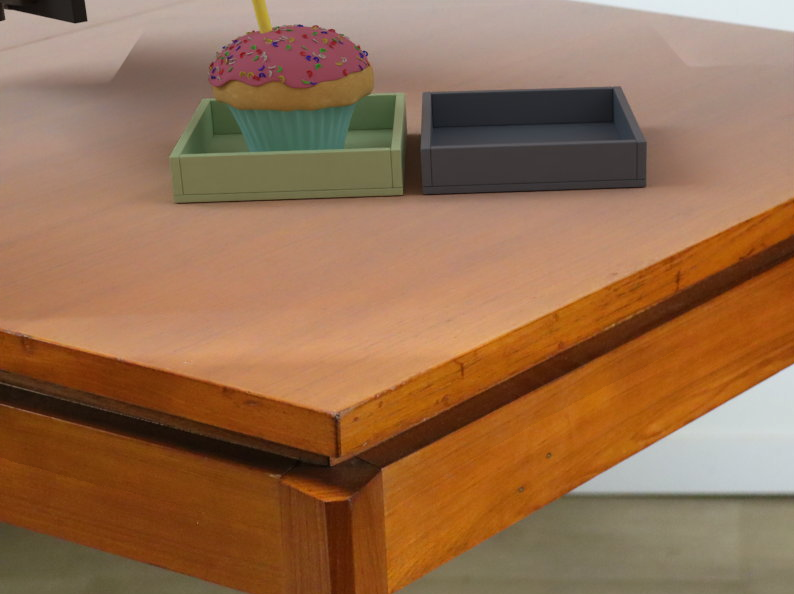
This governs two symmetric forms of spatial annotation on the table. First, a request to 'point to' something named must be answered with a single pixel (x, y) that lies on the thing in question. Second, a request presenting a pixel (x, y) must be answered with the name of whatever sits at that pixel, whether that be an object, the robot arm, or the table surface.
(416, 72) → the table surface
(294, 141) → the cupcake
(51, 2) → the robot arm
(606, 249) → the table surface
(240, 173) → the green tray
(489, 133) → the slate tray
